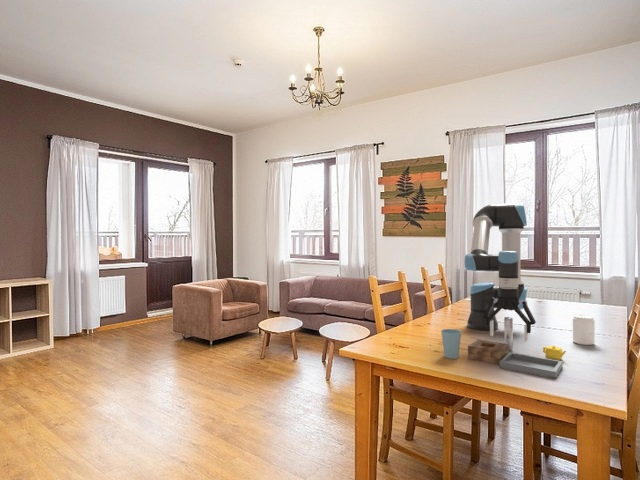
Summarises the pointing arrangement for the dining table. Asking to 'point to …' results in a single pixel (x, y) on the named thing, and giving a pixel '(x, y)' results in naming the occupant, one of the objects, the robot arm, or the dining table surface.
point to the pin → (508, 332)
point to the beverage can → (583, 329)
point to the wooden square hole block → (488, 351)
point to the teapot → (553, 352)
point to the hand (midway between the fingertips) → (508, 338)
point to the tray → (532, 365)
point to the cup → (451, 342)
